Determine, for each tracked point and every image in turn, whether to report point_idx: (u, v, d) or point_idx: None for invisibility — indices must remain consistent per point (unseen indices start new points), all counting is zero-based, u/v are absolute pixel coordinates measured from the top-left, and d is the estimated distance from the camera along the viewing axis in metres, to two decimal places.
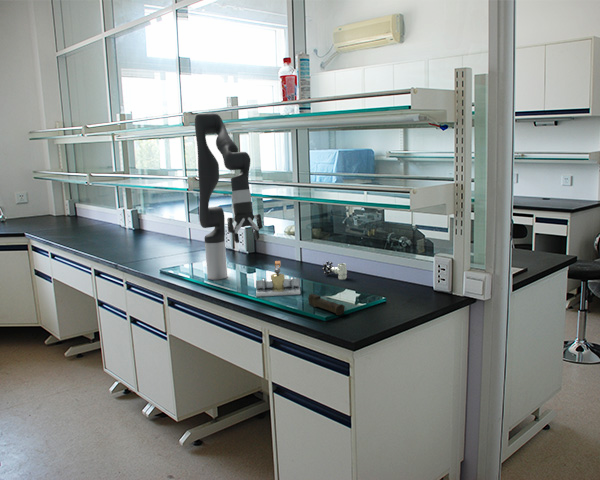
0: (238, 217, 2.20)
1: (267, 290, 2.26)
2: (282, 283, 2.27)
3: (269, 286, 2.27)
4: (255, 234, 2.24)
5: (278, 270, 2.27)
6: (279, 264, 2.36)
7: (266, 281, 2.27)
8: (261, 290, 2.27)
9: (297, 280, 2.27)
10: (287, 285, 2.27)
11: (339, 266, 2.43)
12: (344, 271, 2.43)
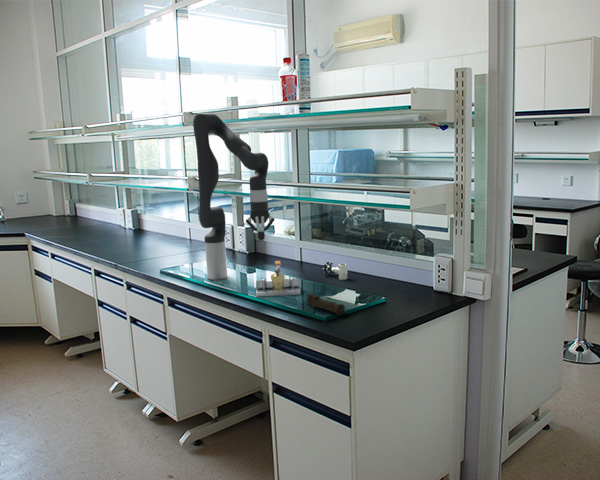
0: (252, 215, 2.35)
1: (267, 290, 2.26)
2: (282, 283, 2.27)
3: (269, 286, 2.27)
4: None
5: (278, 270, 2.27)
6: (279, 264, 2.36)
7: (266, 281, 2.27)
8: (261, 290, 2.27)
9: (297, 280, 2.27)
10: (287, 285, 2.27)
11: (340, 266, 2.43)
12: (345, 271, 2.43)
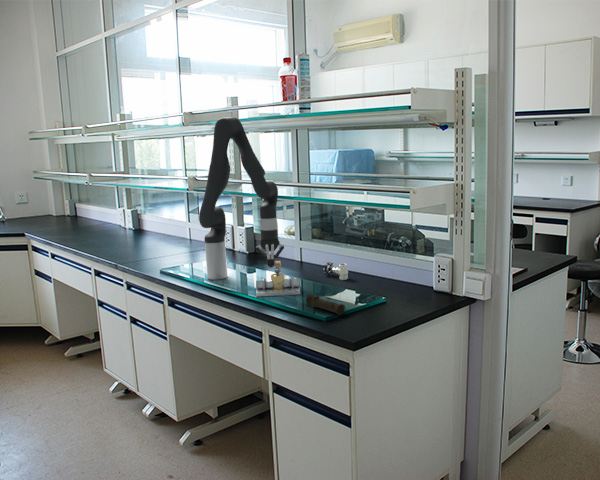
0: (262, 243, 2.37)
1: (267, 290, 2.26)
2: (282, 283, 2.27)
3: (269, 286, 2.27)
4: None
5: (278, 270, 2.27)
6: (279, 264, 2.36)
7: (266, 281, 2.27)
8: (261, 290, 2.27)
9: (297, 280, 2.27)
10: (287, 285, 2.27)
11: (340, 266, 2.42)
12: (345, 271, 2.42)
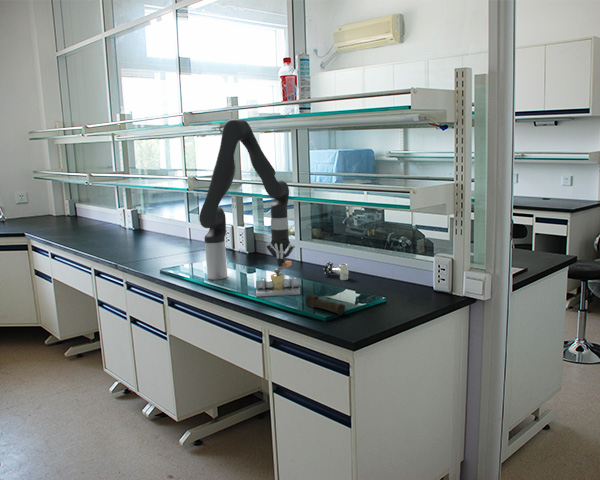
0: (272, 241, 2.38)
1: (267, 290, 2.26)
2: (282, 283, 2.27)
3: (269, 286, 2.27)
4: None
5: (277, 270, 2.27)
6: (286, 264, 2.35)
7: (266, 281, 2.27)
8: (261, 290, 2.27)
9: (297, 280, 2.27)
10: (287, 285, 2.27)
11: (341, 266, 2.42)
12: (346, 271, 2.42)
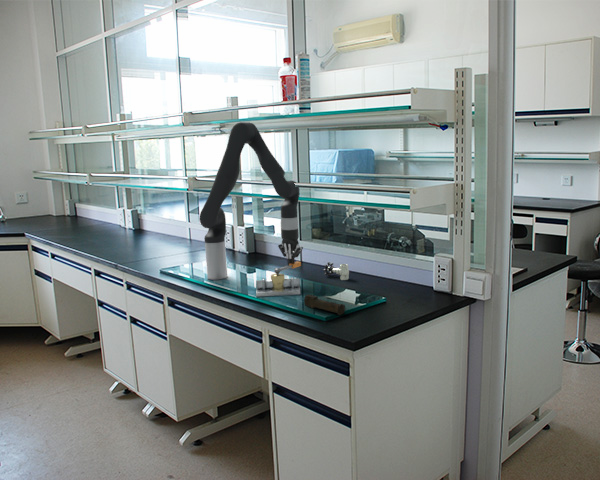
0: (282, 241, 2.38)
1: (267, 290, 2.26)
2: (282, 283, 2.27)
3: (269, 286, 2.27)
4: None
5: (276, 270, 2.27)
6: (292, 265, 2.34)
7: (266, 281, 2.27)
8: (261, 290, 2.27)
9: (297, 280, 2.27)
10: (287, 285, 2.27)
11: (341, 267, 2.42)
12: (346, 272, 2.42)
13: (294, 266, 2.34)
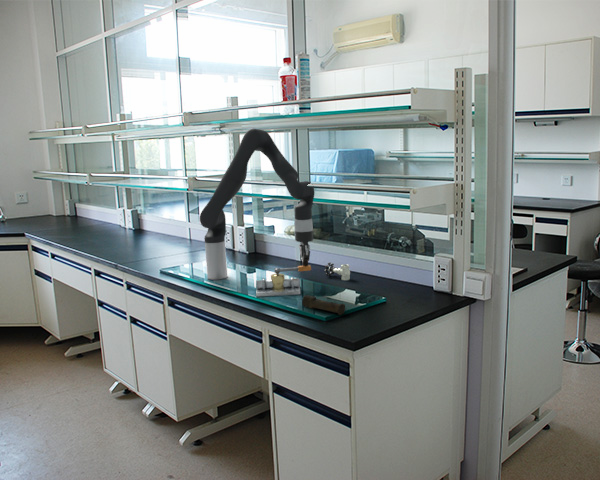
0: (300, 242, 2.34)
1: (267, 290, 2.26)
2: (282, 283, 2.27)
3: (269, 286, 2.27)
4: None
5: (275, 270, 2.27)
6: (298, 268, 2.28)
7: (266, 281, 2.27)
8: (261, 290, 2.27)
9: (297, 280, 2.27)
10: (287, 285, 2.27)
11: (342, 267, 2.41)
12: (347, 272, 2.41)
13: (300, 269, 2.28)
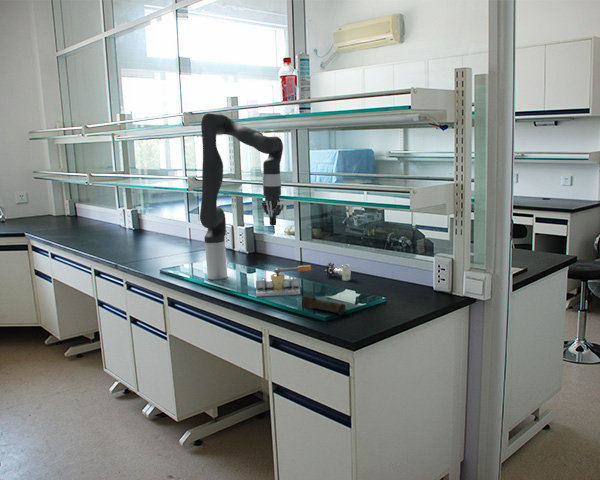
0: (265, 198, 2.35)
1: (267, 290, 2.26)
2: (282, 283, 2.27)
3: (269, 286, 2.27)
4: None
5: (275, 270, 2.27)
6: (298, 268, 2.28)
7: (266, 281, 2.27)
8: (261, 290, 2.27)
9: (297, 280, 2.27)
10: (287, 285, 2.27)
11: (343, 267, 2.41)
12: (348, 272, 2.41)
13: (300, 269, 2.28)
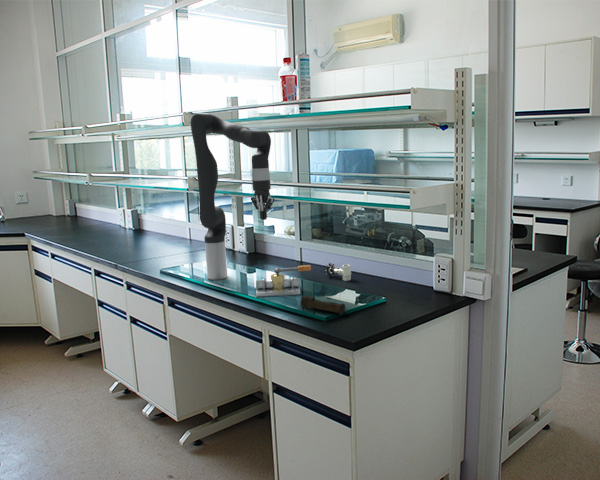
0: (254, 193, 2.34)
1: (267, 290, 2.26)
2: (282, 283, 2.27)
3: (269, 286, 2.27)
4: None
5: (275, 270, 2.27)
6: (298, 268, 2.28)
7: (266, 281, 2.27)
8: (261, 290, 2.27)
9: (297, 280, 2.27)
10: (287, 285, 2.27)
11: (344, 267, 2.41)
12: (349, 272, 2.41)
13: (300, 269, 2.28)
